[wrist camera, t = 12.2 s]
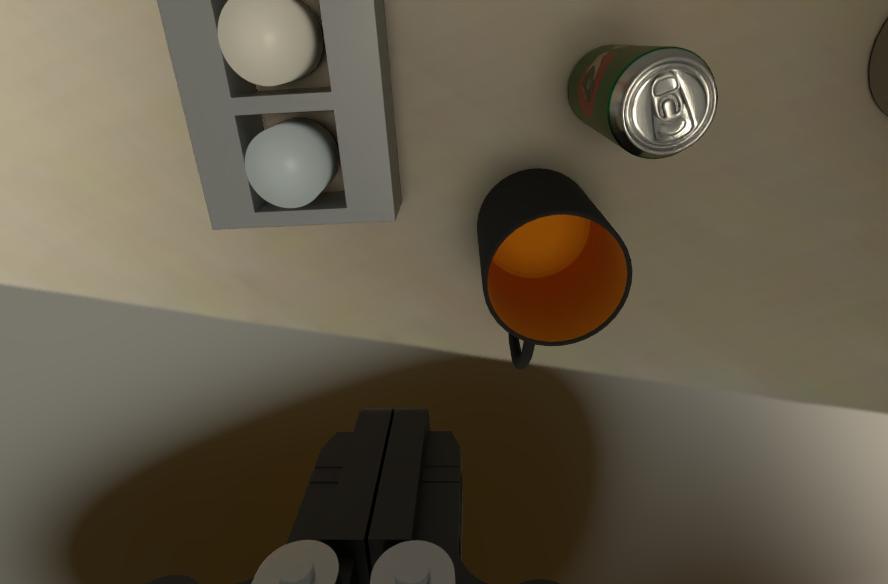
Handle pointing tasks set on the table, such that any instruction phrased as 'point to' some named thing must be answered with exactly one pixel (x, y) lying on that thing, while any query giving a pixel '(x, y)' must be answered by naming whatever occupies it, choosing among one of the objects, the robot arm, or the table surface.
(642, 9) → the table surface
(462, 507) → the robot arm
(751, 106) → the table surface
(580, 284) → the mug
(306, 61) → the beige rounded block
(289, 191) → the pale blue rounded block
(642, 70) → the soda can
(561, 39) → the table surface
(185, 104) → the three-slot peg holder
